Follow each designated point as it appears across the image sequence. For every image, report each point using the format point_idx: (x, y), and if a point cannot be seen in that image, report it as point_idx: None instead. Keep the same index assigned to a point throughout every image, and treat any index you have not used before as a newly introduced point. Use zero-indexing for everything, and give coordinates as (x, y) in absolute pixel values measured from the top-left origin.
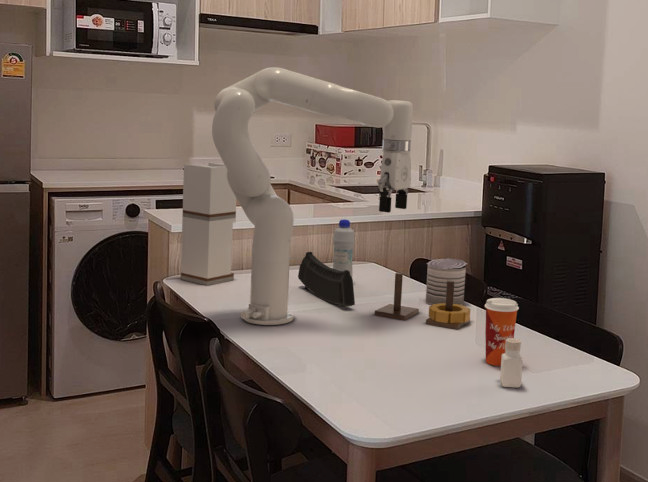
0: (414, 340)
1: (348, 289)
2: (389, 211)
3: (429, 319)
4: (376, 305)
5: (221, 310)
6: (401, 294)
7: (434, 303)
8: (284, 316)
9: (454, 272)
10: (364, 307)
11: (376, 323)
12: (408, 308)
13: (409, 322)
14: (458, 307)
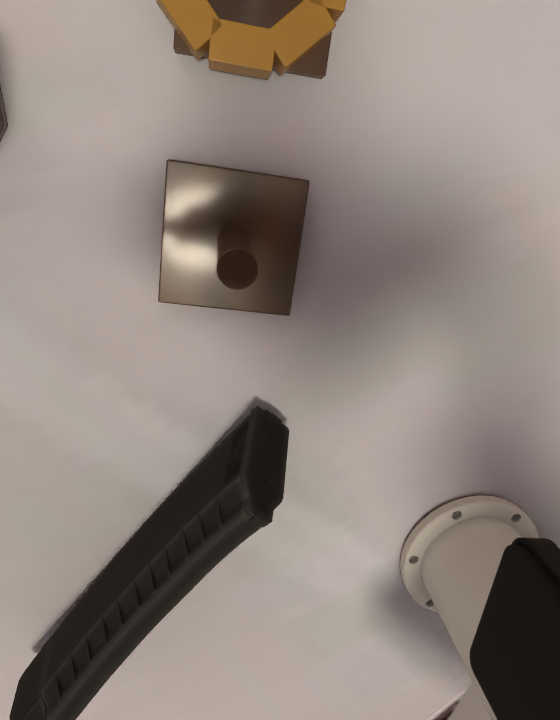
0: (555, 58)
1: (267, 456)
2: (548, 545)
3: (319, 59)
4: (149, 354)
5: (428, 671)
6: (232, 234)
7: (2, 124)
8: (488, 518)
9: None
10: (202, 381)
11: (390, 265)
12: (187, 204)
13: (326, 153)
14: None
